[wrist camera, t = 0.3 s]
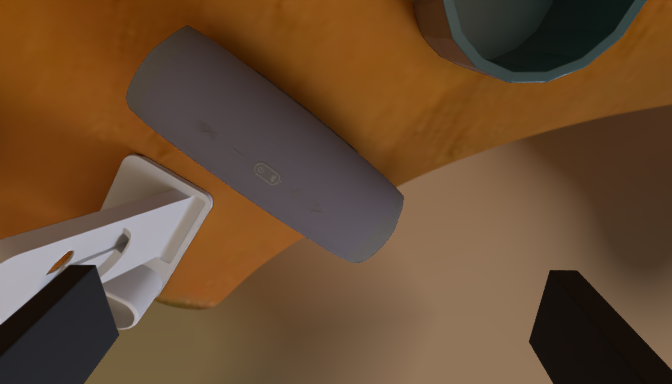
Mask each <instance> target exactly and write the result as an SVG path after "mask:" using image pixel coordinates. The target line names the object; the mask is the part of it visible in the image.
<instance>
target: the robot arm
mask: <svg viewBox="0 0 672 384" xmlns="http://www.w3.org/2000/svg"><path fill="white" fill-rule="evenodd" d="M118 336H119V333H118V330H117V327H116V324H115V321H114V318H113V315H112V312H111V309H110V306H109V303H108V300H107V297H106V294H105V291H104V288H103V285H102V282H101V279H100V276H99V273H98V270H97V267H96V265H69V266H68V267H67V268H65V269H64V270H63V271H62V272H61V273H60V274H59V275H57V276H56V277H55V278H54V279H53V280H52V281H50V282H49V283H48V284H47V285H46V286H45V287H43V288H42V289H41V290H40V291H39V292H38V293H37V294H35V295H34V296H33V297H32V298H31V299H30V300H28V301H27V302H26V303H25V304H24V305H23V306H22V307H20V308H19V309H18V310H17V311H16V312H15V313H13V314H12V315H11V316H10V317H9V318H8V319H7V320H5V321H4V322H3V323H2V324H1V325H0V384H84V383H85V381H86V380H87V379H88V377H89V376H90V374H91V373H92V372H93V370H94V369H95V368H96V366H97V365H98V363H99V362H100V361H101V359H102V358H103V357H104V355H105V354H106V353H107V351H108V350H109V349H110V347H111V346H112V344H113V343H114V342H115V340H116V339H117V337H118ZM529 343H530V344H531V346H532V348H533V350H534V351H535V353H536V355H537V357H538V358H539V360H540V362H541V363H542V365H543V367H544V368H545V370H546V372H547V374H548V375H549V377H550V379H551V381H552V382H553V384H672V370H671V369H670V368H669V367H668V366H667V365H666V363H665V362H664V361H663V360H662V359H661V358H660V357H659V356H658V355H657V354H656V353H655V352H654V351H653V350H652V349H651V348H650V347H649V345H648V344H647V343H646V342H645V341H644V340H643V339H642V338H641V337H640V336H639V335H638V334H637V333H636V332H635V331H634V330H633V329H632V328H631V327H630V326H629V324H628V323H627V322H626V321H625V320H624V319H623V318H622V317H621V316H620V315H619V314H618V313H617V312H616V311H615V310H614V309H613V308H612V307H611V306H610V305H609V303H608V302H606V300H605V299H604V298H603V297H602V296H601V295H600V294H599V293H598V292H597V291H596V290H595V289H594V288H593V287H592V286H591V284H590V283H589V282H588V281H587V280H586V279H585V278H584V277H583V276H582V275H581V274H580V273H579V272H578V271H574V270H568V271H567V270H550V272H549V275H548V279H547V282H546V286H545V289H544V292H543V296H542V299H541V303H540V306H539V309H538V313H537V316H536V319H535V323H534V326H533V330H532V333H531V337H530V340H529Z"/></svg>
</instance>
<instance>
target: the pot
mask: <svg viewBox="0 0 672 384" xmlns="http://www.w3.org/2000/svg"><path fill="white" fill-rule="evenodd" d="M646 1H647V0H414V10H415V15H416V20H417V23H418V26H419V28H420V31H421V33H422V35H423V37H424V38H425V40H426V41H427V42H428V44H429V45H430V46H431V47H432V48H433V49H434V50H435V52H437V54H438V55H439V56H440V57H442V58H444V59H447V60H449V61H451V62H453V63H455V64H458V65H460V66H462V67H464V68H467V69H470V70H473V71H476V72H479V73H482V74H485V75H488V76H491V77H494V78H497V79H499V80H502V81H505V82H509V83H539V82H549V81H551V80H554V79H556V78H559V77H562V76H564V75H567V74H569V73H572V72H574V71H577V70H580V69H582V68H584V67H586V66H587V65H589V64H590V63H591V62H592V61H593V60H595V59H596V58H597V57H598V56H600V55H601V54H602V53H603V52H604V51H606V50H607V49H608V48H609V47H611V46H612V45H613V44H614V43H615V42H617V41H618V40H619V39H620V38H621V37H622V36H623V35H624V33H625V32H626V30H627V29H628V27H629V26H630V24H631V23H632V21H633V20H634V18H635V17H636V16H637V14H638V13H639V11H640V10H641V8H642V7H643V5H644V4H645V2H646Z"/></svg>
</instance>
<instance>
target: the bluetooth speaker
mask: <svg viewBox="0 0 672 384" xmlns="http://www.w3.org/2000/svg"><path fill="white" fill-rule="evenodd" d="M126 100H127V104H128V106H129V108H130V109H131V110H132V111H133V112H134V113H135V114H136V115H137V116H138V117H139V118H140V119H142V120H143V121H144V122H145V123H146V124H147V125H148V126H150V127H151V128H152V129H153V130H154V131H156V132H157V133H158V134H160V135H161V136H162V137H164V138H165V139H166V140H168V141H169V142H170V143H172V144H173V145H174V146H176V147H177V148H178V149H180V150H181V151H182V152H184V153H185V154H186V155H187V156H189V157H190V158H191V159H193V160H194V161H195V162H197V163H198V164H200V165H201V166H202V167H204V168H205V169H207V170H208V171H209V172H211V173H212V174H214V175H215V176H216V177H218V178H219V179H221V180H222V181H223V182H225V183H226V184H227V185H229V186H230V187H232V188H233V189H234V190H236V191H237V192H239V193H240V194H241V195H243V196H244V197H246V198H247V199H249V200H250V201H252V202H253V203H255V204H256V205H258V206H259V207H261V208H262V209H264V210H265V211H267V212H268V213H270V214H271V215H273V216H274V217H276V218H277V219H279V220H280V221H282V222H283V223H285V224H286V225H288V226H290V227H291V228H293V229H294V230H296V231H297V232H299V233H300V234H302V235H304V236H305V237H307V238H308V239H310V240H312V241H313V242H315V243H316V244H318V245H320V246H321V247H323V248H324V249H326V250H328V251H329V252H331V253H333V254H335V255H337V256H339V257H341V258H343V259H345V260H347V261H349V262H351V263H360V262H363V261H365V260H367V259H369V258H370V257H371V256H372V255H374V254H375V253H376V252H377V251H378V250H379V249H380V248H381V247H382V246H383V245H384V244H385V243H386V241H387V240H388V239H389V237H390V236H391V235H392V233H393V231H394V230H395V227H396V225H397V222H398V219H399V216H400V213H401V210H402V207H403V200H404V197H403V195H402V194H401V193H400V192H399V191H398V189H397V188H396V187H395V186H394V185H393V184H392V183H391V182H390V181H389V180H388V179H387V178H386V177H385V176H384V175H383V174H381V173H380V172H379V171H378V170H377V169H376V168H374V167H373V166H372V165H371V164H370V163H369V162H368V161H366V160H365V159H364V158H363V157H362V156H361V155H359V154H358V152H357V151H356V150H355V149H354V148H353V147H352V146H351V145H350V144H348V143H347V142H346V141H345V140H344V139H342V138H341V137H340V136H339V135H338V134H336V133H335V132H334V131H333V130H332V129H330V128H329V127H328V126H327V125H326V124H324V123H323V122H322V121H321V120H320V119H318V118H317V117H316V116H315V115H313V114H312V113H311V112H310V111H308V110H307V109H306V108H305V107H303V106H302V105H301V104H299V103H298V102H297V101H296V100H294V99H293V98H292V97H291V96H289V95H288V94H287V93H286V92H284V91H283V90H282V89H280V88H279V87H278V86H276V85H275V84H274V83H272V82H271V81H270V80H268V79H267V78H266V77H264V76H263V75H261V74H260V73H258V72H257V71H255V70H253V69H252V68H250V67H249V66H247V65H246V64H245V63H243V62H242V61H241V60H239V59H238V58H237V57H235V56H234V55H233V54H231V53H230V52H228V51H227V50H226V49H224V48H223V47H222V46H220V45H219V44H217V43H216V42H214V41H213V40H211V39H210V38H208V37H207V36H205V35H203V34H202V33H200V32H199V31H197V30H195V29H194V28H192V27H190V26H188V25H187V26H185V27H183V28H182V29H180V30H178V31H176V32H175V33H173V34H172V35H171V36H169V37H168V38H167V39H166V40H164V41H163V42H161V43H160V44H159V45H157V46H156V47H155V48H153V50H152V51H151V52H150V53H149V54H148V55H147V57H146V58H145V59H144V61H143V62H142V64H141V65H140V67H139V68H138V70H137V71H136V73H135V75H134V77H133V79H132V81H131V83H130V85H129V88H128V91H127V96H126Z"/></svg>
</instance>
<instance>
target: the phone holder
mask: <svg viewBox="0 0 672 384" xmlns="http://www.w3.org/2000/svg"><path fill="white" fill-rule="evenodd" d="M212 206H213V199H212V197H211V195H210V194H209V193H208V192H206V191H205V190H203V189H201V188H199V187H198V186H196V185H194V184H192V183H191V182H189V181H187V180H185V179H184V178H182V177H180V176H178V175H177V174H175V173H173V172H172V171H170V170H168V169H166V168H165V167H163V166H161V165H159V164H158V163H156V162H154V161H152V160H151V159H149V158H147V157H145V156H143V157H142V156H139V155H137V154H131V155H129V156H128V157H126V158H125V159H124V160H123V162H122V164H121V166H120V168H119V170H118V173H117V175H116V177H115V179H114V181H113V184H112V186H111V188H110V190H109V192H108V195H107V197H106V199H105V201H104V203H103V206H102V208H101V210H100V211H98V212H95V213H91V214H88V215H84V216H81V217H77V218H74V219H70V220H67V221H63V222H60V223H56V224H53V225H49V226H46V227H42V228H39V229H35V230H32V231H28V232H25V233H21V234H18V235H14V236H10V237H7V238H4V239H1V240H0V325H1V324H2V323H3V322H4V321H5V320H7V319H8V318H9V317H10V316H11V315H12V314H13V313H15V312H16V311H17V310H18V309H19V308H20V307H22V306H23V305H24V304H25V303H26V302H27V301H28V300H30V299H31V298H32V297H33V296H34V295H35V294H37V293H38V292H39V291H40V290H41V289H42V288H43V287H45V286H46V285H47V284H48V283H49V282H50V281H52V280H53V279H54V278H55V277H56V276H57V275H59V274H60V273H61V272H62V271H63V270H64V269H65V268H67V267H68V266H69V265H96V267H97V270H98V273H99V276H100V279H101V282H102V285H103V288H104V291H105V294H106V297H107V300H108V303H109V306H110V309H111V312H112V315H113V318H114V321H115V324H116V327H117V329H121V330H122V329H129V328H131V327H133V326H134V325H136V324H137V322H138V321H139V320H140V318H141V317H142V315H143V314H144V313H145V311H146V310H147V308H148V307H149V305H150V304H151V303H152V301H153V300H154V298H156V297H157V296H158V295H159V294H160V292H161V291H162V289H163V288H164V286H165V284H166V283H167V281H168V279H169V278H170V276H171V274H172V273H173V271H174V269H175V268H176V266H177V264H178V263H179V261H180V259H181V258H182V256H183V254H184V253H185V251H186V249H187V248H188V246H189V244H190V243H191V241H192V239H193V238H194V236H195V234H196V233H197V231H198V229H199V228H200V226H201V224H202V223H203V221H204V219H205V218H206V216H207V214H208V213H209V211H210V209H211V208H212ZM68 251H73V252H72V254H71V256H70V257H69V259H68V260H67V261H66V262H65V263H64V264H62V265H61V266H60V267H58V268H57V269H55V270H53V271H51V272H49V273H47V272H48V271H49V270H50V269H51V268H52V266H53V265H54V264H55V263H56V262H57V261H58V260H59V259H60V258H61V257H62V256H64V255H65V254H66V253H67V252H68Z"/></svg>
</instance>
